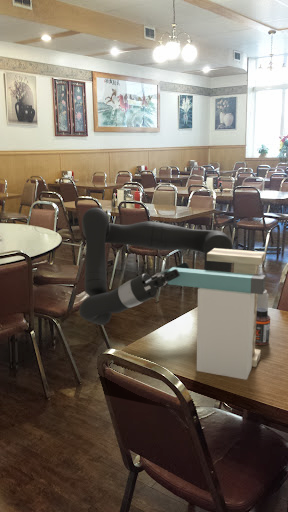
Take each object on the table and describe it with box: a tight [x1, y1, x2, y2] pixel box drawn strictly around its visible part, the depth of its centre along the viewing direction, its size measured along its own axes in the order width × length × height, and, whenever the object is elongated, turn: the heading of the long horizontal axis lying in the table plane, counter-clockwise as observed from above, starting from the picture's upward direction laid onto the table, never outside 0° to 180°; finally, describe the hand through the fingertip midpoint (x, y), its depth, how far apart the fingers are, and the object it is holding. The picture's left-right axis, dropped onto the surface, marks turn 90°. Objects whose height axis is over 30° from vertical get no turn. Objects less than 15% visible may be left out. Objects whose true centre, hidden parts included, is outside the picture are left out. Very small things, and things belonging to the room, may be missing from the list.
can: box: [257, 289, 270, 311], centre depth 167 cm, size 8×8×12 cm
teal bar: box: [167, 266, 266, 294], centre depth 127 cm, size 4×26×4 cm, turn 67°
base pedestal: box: [196, 288, 255, 381], centre depth 129 cm, size 7×14×24 cm, turn 67°
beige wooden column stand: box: [207, 248, 266, 368], centre depth 136 cm, size 8×15×32 cm, turn 67°
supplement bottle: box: [255, 307, 271, 346], centre depth 149 cm, size 6×6×11 cm
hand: (183, 268), depth 130 cm, fingers open, 8 cm apart
